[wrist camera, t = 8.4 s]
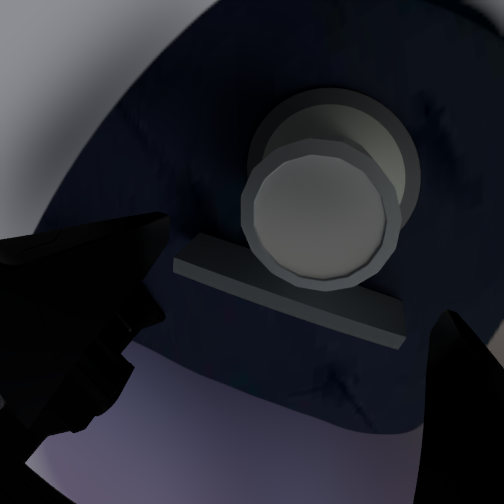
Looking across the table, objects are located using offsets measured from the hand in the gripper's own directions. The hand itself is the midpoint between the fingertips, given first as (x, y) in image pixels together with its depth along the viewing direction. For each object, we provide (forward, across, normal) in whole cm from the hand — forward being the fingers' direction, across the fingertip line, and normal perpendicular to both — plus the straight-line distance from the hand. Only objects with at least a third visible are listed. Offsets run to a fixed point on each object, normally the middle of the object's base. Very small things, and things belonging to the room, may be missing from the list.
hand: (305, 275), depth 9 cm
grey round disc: (+12, 0, 0) cm, 12 cm away
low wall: (+12, 0, +8) cm, 14 cm away
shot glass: (+11, 0, 0) cm, 11 cm away
